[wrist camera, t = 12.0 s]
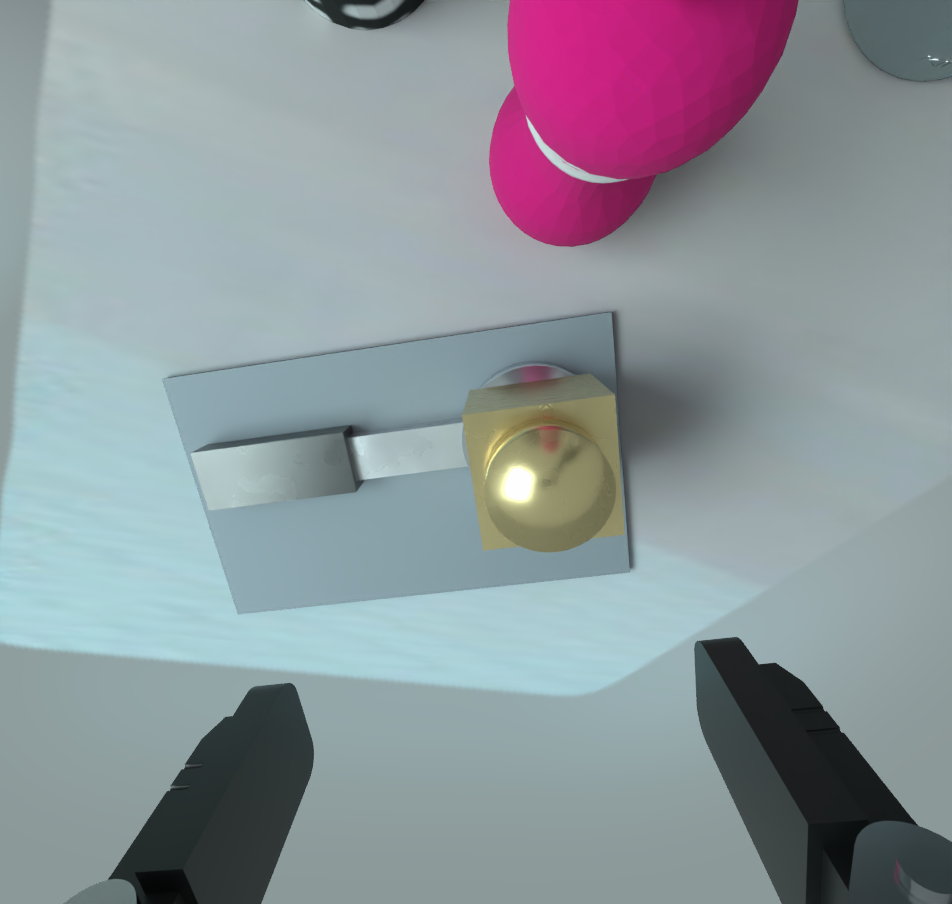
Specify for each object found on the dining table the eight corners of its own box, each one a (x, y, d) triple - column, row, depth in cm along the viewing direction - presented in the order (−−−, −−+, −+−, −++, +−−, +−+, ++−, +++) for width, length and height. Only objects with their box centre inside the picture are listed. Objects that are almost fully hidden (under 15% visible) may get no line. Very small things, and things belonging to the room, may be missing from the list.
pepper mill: (584, 62, 25) (860, -684, 6) (658, 196, 27) (1065, -52, 7) (463, 160, 26) (371, -187, 7) (540, 281, 28) (628, 254, 9)
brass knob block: (469, 389, 28) (458, 426, 20) (590, 373, 27) (626, 404, 19) (486, 500, 29) (481, 573, 22) (599, 487, 29) (636, 556, 21)
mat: (166, 378, 30) (161, 379, 30) (610, 311, 28) (611, 312, 28) (240, 610, 35) (238, 614, 35) (628, 568, 33) (629, 572, 32)
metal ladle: (196, 408, 31) (133, 433, 25) (596, 351, 29) (618, 364, 23) (234, 531, 33) (183, 576, 28) (606, 485, 31) (628, 525, 26)
